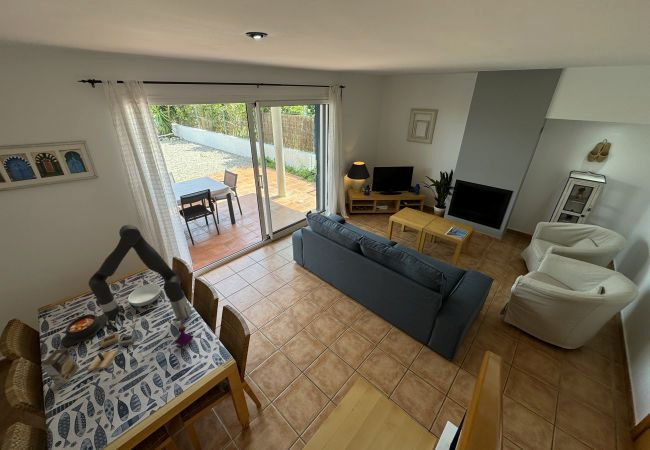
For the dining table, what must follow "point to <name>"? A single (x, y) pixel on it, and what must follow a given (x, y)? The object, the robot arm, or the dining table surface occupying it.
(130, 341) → the link
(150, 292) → the serving bowl
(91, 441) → the dining table surface
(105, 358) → the keeper
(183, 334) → the perfume bottle
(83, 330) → the casserole
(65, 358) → the coffee box
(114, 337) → the link
